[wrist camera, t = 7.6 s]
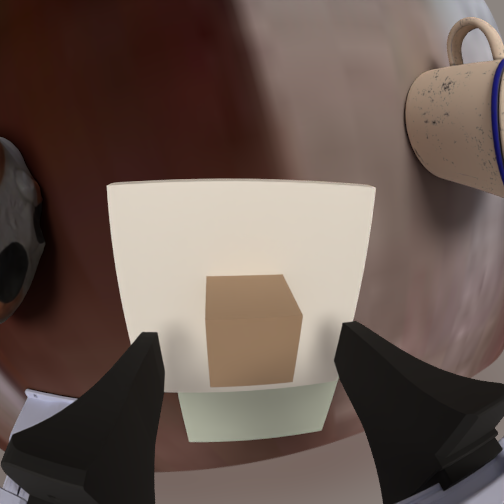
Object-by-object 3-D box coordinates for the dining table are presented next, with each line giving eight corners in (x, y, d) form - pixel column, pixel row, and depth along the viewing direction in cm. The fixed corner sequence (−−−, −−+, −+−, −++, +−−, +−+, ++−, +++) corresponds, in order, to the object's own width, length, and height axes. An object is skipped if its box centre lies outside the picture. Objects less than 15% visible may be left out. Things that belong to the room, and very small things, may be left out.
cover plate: (145, 382, 16) (136, 436, 12) (112, 183, 12) (71, 203, 8) (332, 372, 18) (356, 420, 14) (367, 184, 13) (420, 204, 9)
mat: (189, 438, 26) (189, 441, 25) (168, 337, 20) (167, 340, 20) (320, 427, 27) (321, 430, 27) (349, 327, 22) (351, 329, 22)
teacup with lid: (483, 173, 19) (589, 210, 8) (409, 191, 19) (541, 248, 8) (459, 39, 14) (566, 24, 4) (375, 29, 14) (500, -25, 3)
